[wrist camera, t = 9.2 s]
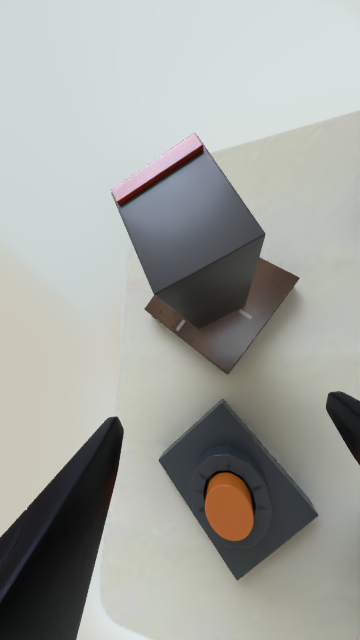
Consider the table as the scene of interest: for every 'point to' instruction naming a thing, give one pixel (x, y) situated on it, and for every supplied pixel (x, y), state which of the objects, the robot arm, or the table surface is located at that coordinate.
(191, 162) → the box
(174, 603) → the table surface
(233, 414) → the button housing
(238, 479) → the button
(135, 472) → the table surface
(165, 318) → the base
